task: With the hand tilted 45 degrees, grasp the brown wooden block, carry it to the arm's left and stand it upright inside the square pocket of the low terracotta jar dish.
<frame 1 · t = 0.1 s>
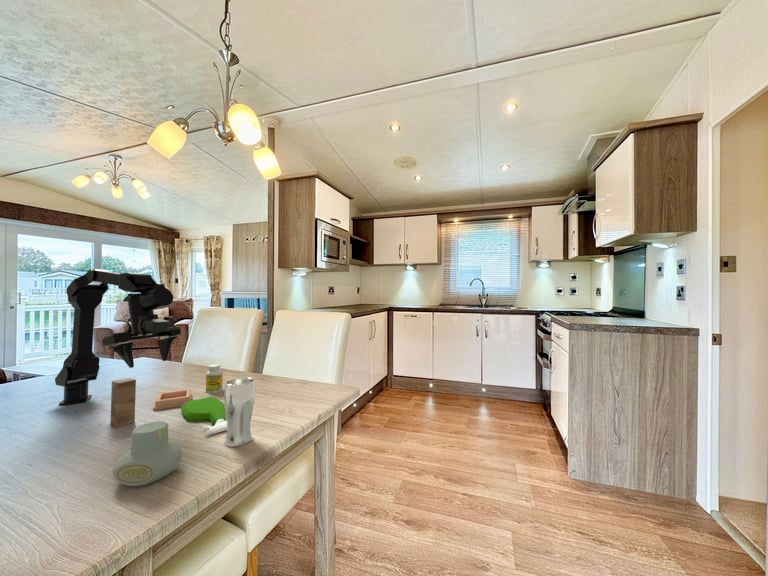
hand: (149, 364, 89), 15 cm above the table, tool pointing down, fingers open, 9 cm apart
supplement bottle: (214, 391, 112), on the table
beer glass: (238, 441, 75), on the table
brown wooden block: (122, 423, 84), on the table
air freshener: (149, 477, 60), on the table
spray bottle: (209, 420, 88), on the table
jar dish: (173, 402, 100), on the table
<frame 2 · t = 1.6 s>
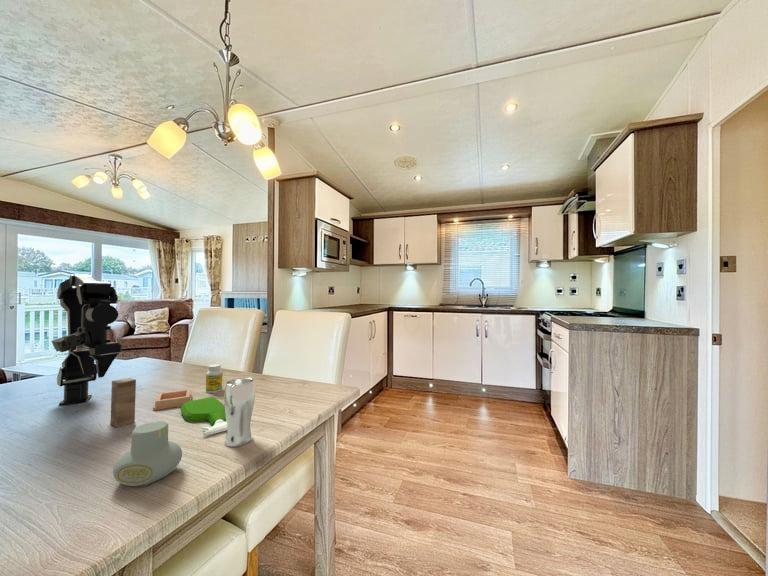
hand: (93, 375, 89), 12 cm above the table, tool pointing down, fingers open, 9 cm apart
nothing on the table moved.
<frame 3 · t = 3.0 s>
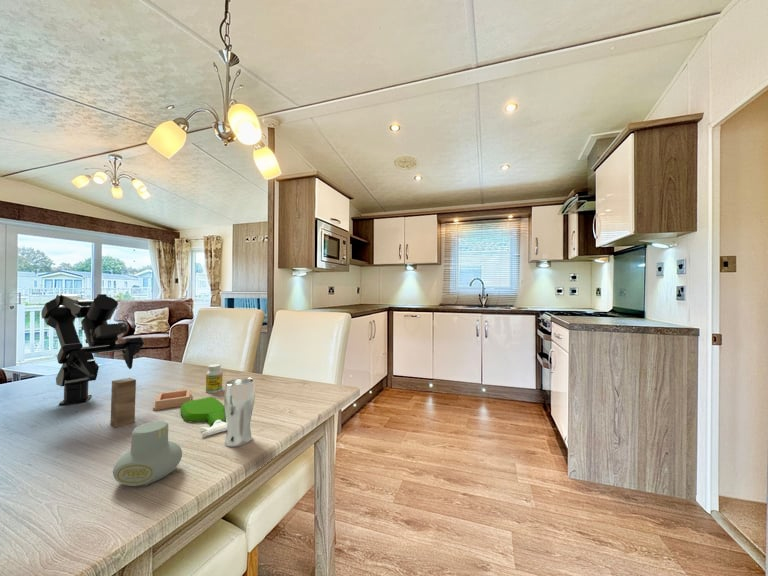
hand: (111, 371, 88), 13 cm above the table, tool tilted 45°, fingers open, 9 cm apart
nothing on the table moved.
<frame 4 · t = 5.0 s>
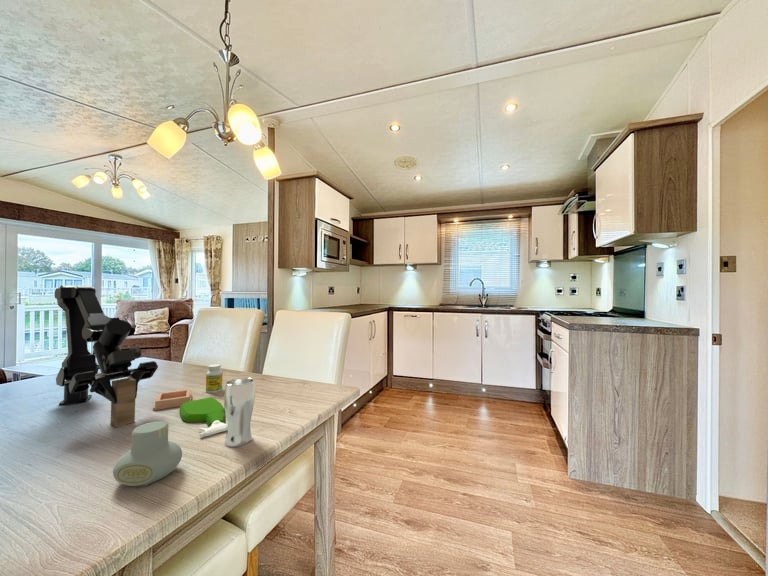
hand: (125, 400, 83), 7 cm above the table, tool tilted 45°, fingers closed on brown wooden block, 4 cm apart
brown wooden block: (122, 423, 84), on the table, touching gripper
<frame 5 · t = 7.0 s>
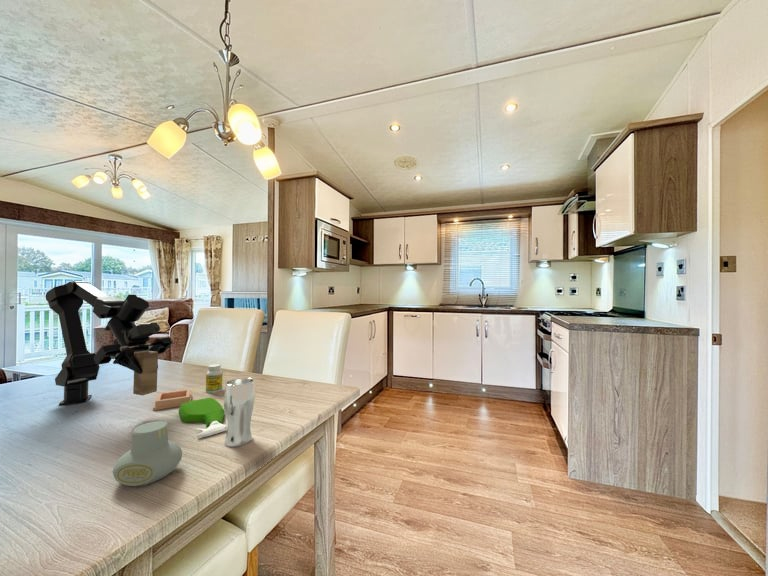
hand: (149, 370, 89), 13 cm above the table, tool tilted 45°, fingers closed on brown wooden block, 4 cm apart
brown wooden block: (145, 392, 89), point 7 cm above the table, touching gripper
when the fingers open (8 cm above the table, at t = 9.3 s): brown wooden block stays where it is, resting on jar dish.
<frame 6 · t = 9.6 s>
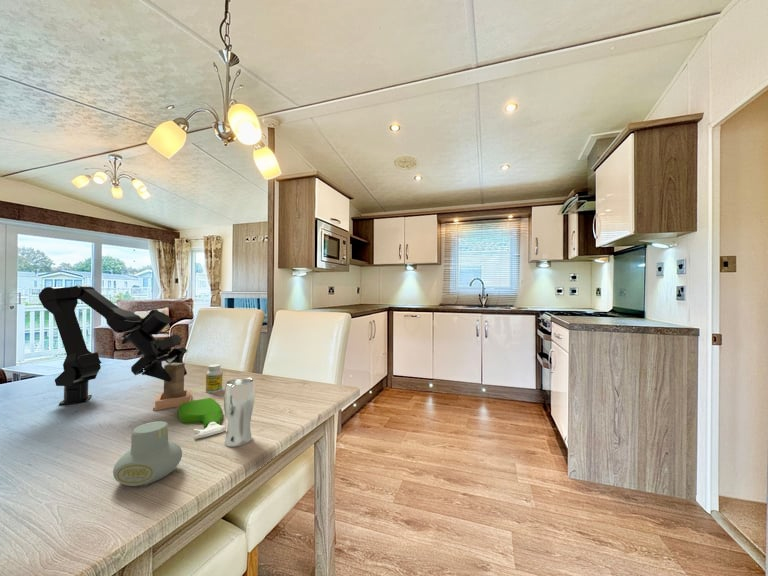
hand: (178, 377, 100), 8 cm above the table, tool tilted 45°, fingers open, 7 cm apart
brown wooden block: (173, 400, 100), point 1 cm above the table, touching jar dish
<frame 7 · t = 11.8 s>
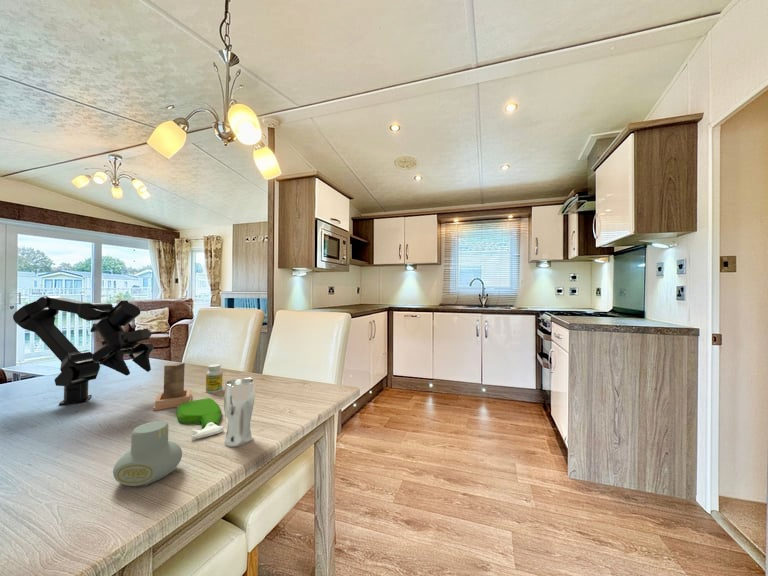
hand: (139, 372, 98), 10 cm above the table, tool tilted 40°, fingers open, 9 cm apart
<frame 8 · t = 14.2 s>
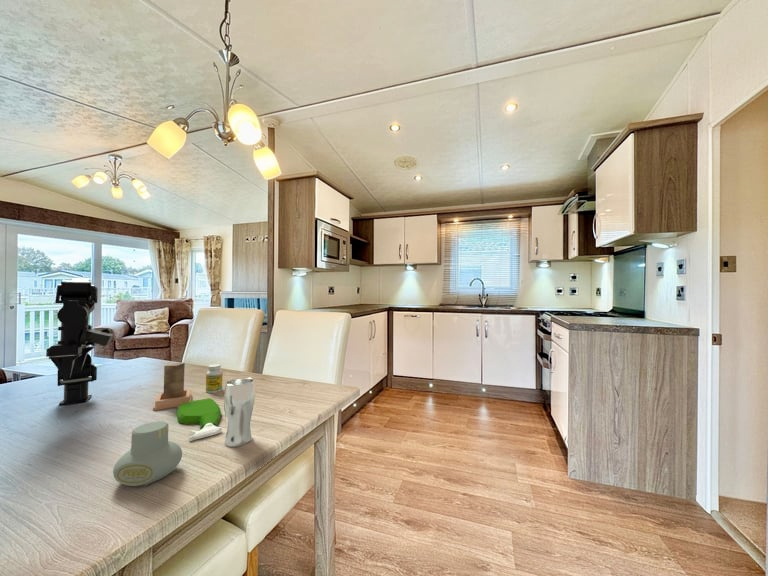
hand: (73, 374, 89), 12 cm above the table, tool pointing down, fingers open, 9 cm apart
at the end: brown wooden block inside the target area (0.0 cm from its centre), point 0.8 cm above the table; brown wooden block tilted 0°; the gripper is holding nothing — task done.
